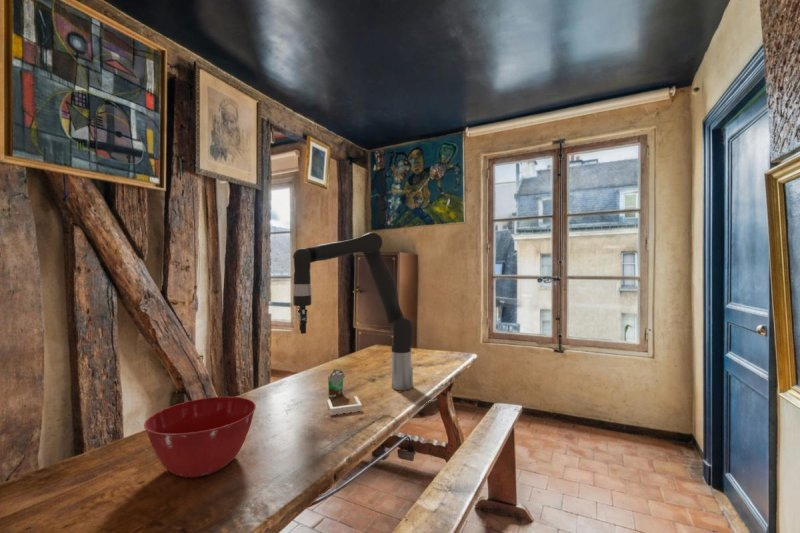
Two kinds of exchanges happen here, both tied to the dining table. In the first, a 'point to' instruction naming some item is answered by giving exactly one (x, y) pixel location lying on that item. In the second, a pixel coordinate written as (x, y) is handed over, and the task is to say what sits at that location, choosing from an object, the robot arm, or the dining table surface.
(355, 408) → the bay
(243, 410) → the mixing bowl
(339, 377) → the food container
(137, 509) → the dining table surface
